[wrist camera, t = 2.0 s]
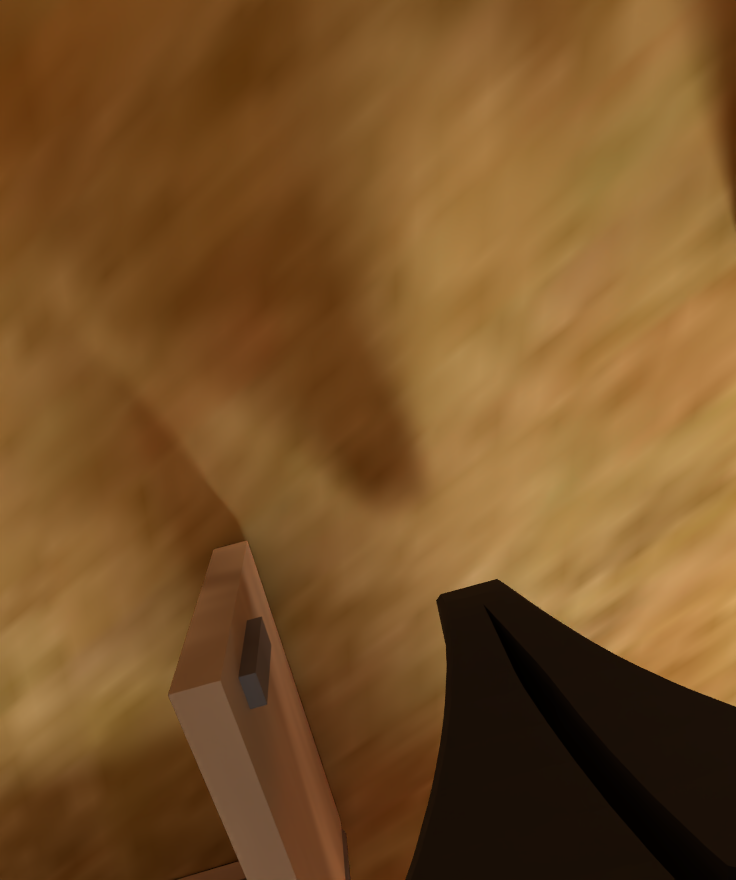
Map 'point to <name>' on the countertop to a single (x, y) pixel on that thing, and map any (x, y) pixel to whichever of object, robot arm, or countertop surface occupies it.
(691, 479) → the countertop surface
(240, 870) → the cabinet
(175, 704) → the door
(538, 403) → the countertop surface
